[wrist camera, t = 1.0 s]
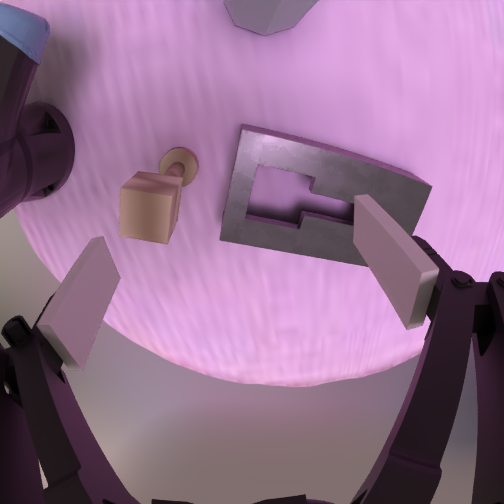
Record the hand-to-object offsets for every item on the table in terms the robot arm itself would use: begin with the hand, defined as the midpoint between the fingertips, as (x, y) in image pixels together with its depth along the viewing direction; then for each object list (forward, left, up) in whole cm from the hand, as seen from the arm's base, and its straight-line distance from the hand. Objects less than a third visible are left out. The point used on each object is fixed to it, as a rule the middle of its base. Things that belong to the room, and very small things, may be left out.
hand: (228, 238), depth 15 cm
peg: (-7, -4, -26) cm, 27 cm away
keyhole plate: (+13, -4, -26) cm, 30 cm away
